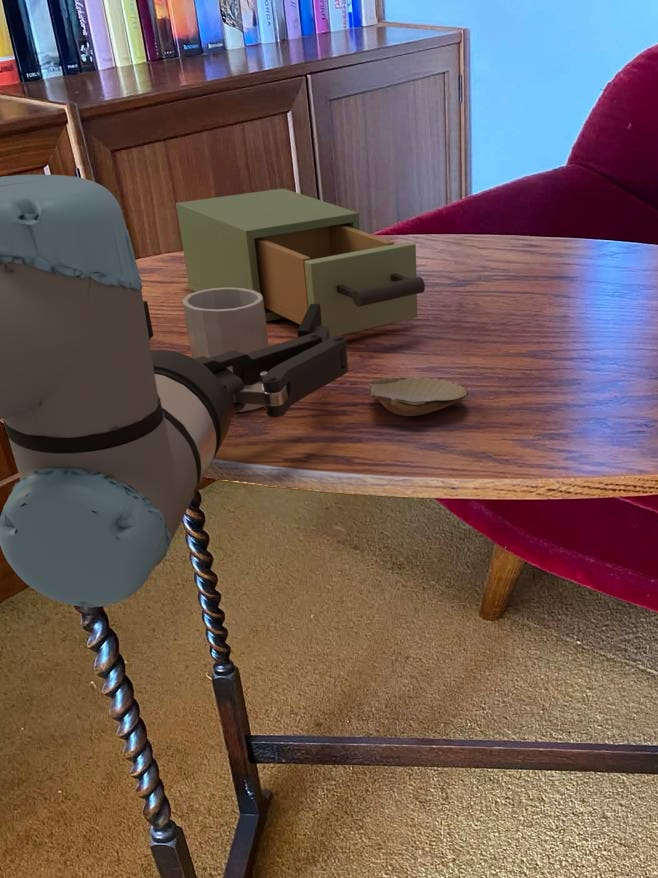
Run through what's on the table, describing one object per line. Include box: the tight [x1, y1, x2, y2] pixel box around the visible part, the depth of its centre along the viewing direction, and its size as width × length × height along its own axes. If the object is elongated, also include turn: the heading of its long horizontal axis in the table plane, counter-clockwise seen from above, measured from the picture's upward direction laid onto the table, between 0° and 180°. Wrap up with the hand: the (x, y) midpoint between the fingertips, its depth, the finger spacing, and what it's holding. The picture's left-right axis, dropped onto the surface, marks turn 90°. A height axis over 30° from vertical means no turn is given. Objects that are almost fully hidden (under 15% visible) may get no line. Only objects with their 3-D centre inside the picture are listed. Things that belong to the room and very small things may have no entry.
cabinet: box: [175, 187, 361, 323], centre depth 99 cm, size 15×13×9 cm
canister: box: [182, 287, 270, 413], centre depth 76 cm, size 6×6×8 cm
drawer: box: [254, 224, 426, 338], centre depth 91 cm, size 18×11×7 cm, turn 40°
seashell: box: [367, 376, 469, 417], centre depth 76 cm, size 8×3×8 cm
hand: (231, 319), depth 76 cm, fingers open, 13 cm apart
